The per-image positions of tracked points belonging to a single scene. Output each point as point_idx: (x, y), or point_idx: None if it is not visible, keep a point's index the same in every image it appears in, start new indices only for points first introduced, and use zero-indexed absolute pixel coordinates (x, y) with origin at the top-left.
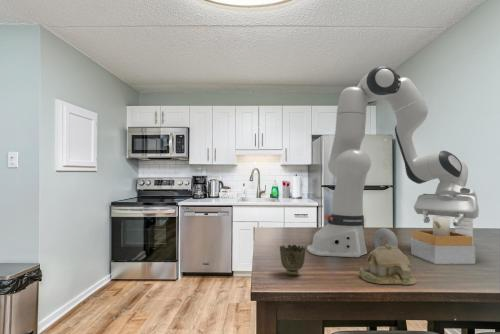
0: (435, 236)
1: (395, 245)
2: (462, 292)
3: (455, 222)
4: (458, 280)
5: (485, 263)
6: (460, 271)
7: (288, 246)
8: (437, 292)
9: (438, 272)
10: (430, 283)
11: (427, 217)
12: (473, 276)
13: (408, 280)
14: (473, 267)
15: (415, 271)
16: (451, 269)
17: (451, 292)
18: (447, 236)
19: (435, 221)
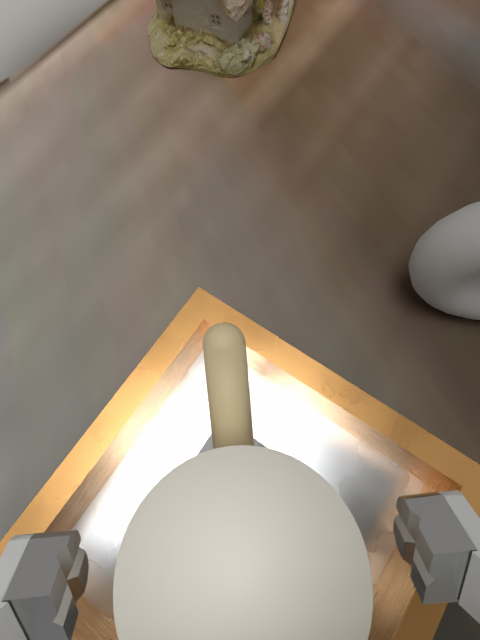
0: (198, 289)
1: (416, 246)
2: (23, 70)
3: (38, 537)
4: (58, 169)
5: None
6: (82, 300)
7: None
8: (77, 25)
9: (145, 210)
10: (118, 75)
11: (439, 536)
12: (24, 265)
13: (158, 12)
14: (50, 440)
15: (212, 156)
16: (121, 302)
17: (48, 50)
18: (133, 375)
19: (222, 322)
